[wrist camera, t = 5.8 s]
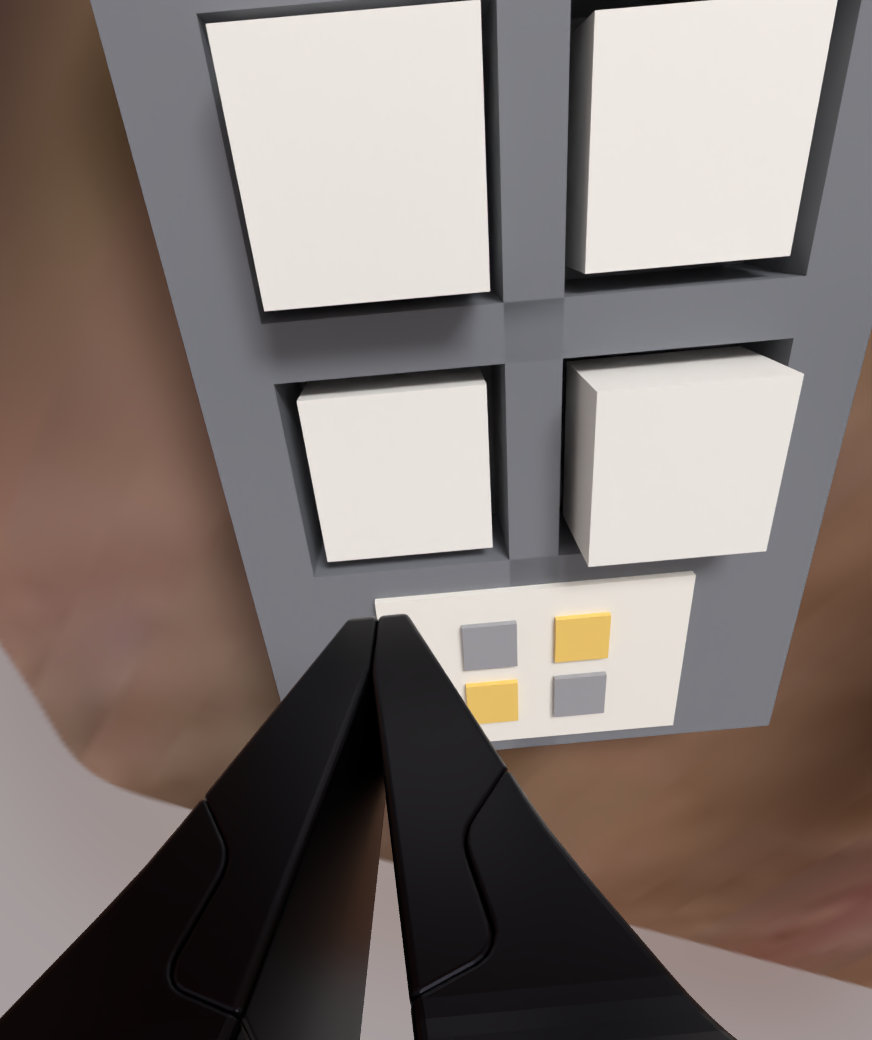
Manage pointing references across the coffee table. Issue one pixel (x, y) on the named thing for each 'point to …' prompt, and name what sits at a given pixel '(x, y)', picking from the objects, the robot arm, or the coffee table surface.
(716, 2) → the button
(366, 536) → the button
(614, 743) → the coffee table surface
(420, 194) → the button
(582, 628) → the panel
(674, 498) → the button
